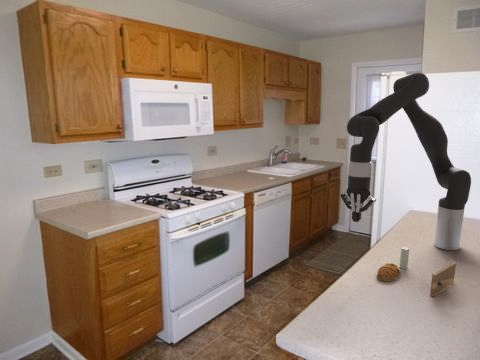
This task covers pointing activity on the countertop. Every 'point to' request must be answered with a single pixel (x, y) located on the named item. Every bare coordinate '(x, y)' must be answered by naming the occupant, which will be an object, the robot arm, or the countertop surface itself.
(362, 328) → the countertop surface
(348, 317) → the countertop surface
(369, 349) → the countertop surface
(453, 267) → the door
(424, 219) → the countertop surface
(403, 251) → the grey rectangular block
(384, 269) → the pastry
